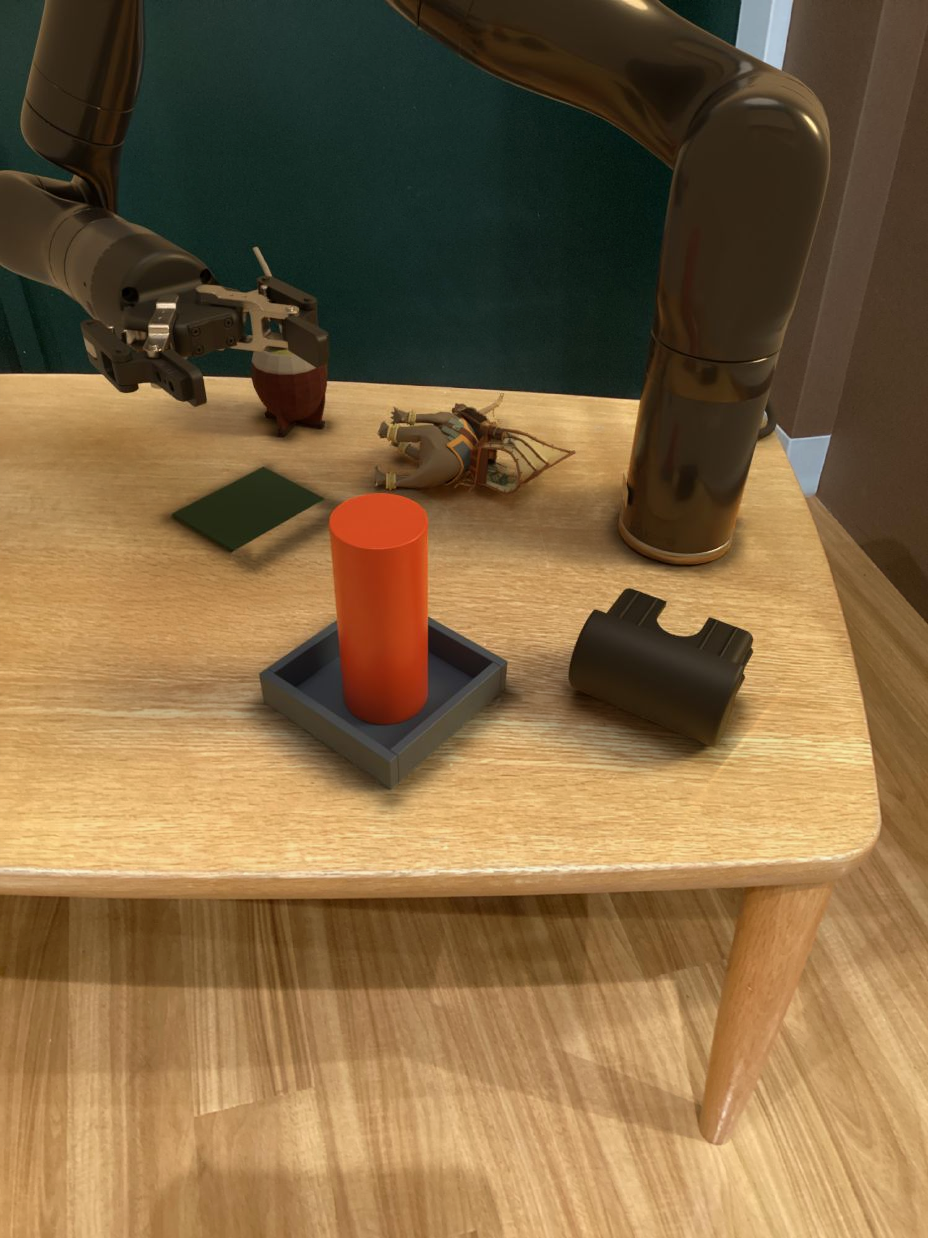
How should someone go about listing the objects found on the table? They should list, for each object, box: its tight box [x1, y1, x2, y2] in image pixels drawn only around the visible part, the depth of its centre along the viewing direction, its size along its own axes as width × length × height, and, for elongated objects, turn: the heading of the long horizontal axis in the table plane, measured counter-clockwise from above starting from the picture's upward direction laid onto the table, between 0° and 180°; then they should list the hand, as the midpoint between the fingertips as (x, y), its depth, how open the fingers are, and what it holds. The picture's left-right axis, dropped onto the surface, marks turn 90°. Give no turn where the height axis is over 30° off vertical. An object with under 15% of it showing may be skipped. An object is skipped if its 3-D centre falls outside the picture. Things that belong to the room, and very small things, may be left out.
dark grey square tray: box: [258, 616, 508, 791], centre depth 61 cm, size 11×11×3 cm
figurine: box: [374, 392, 576, 496], centre depth 81 cm, size 20×6×17 cm
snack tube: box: [328, 492, 429, 725], centre depth 57 cm, size 6×6×14 cm
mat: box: [171, 466, 326, 553], centre depth 78 cm, size 10×10×1 cm
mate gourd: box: [250, 246, 328, 438], centre depth 85 cm, size 8×8×15 cm
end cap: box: [567, 587, 754, 747], centre depth 59 cm, size 10×7×7 cm
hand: (264, 370), depth 55 cm, fingers open, 8 cm apart
